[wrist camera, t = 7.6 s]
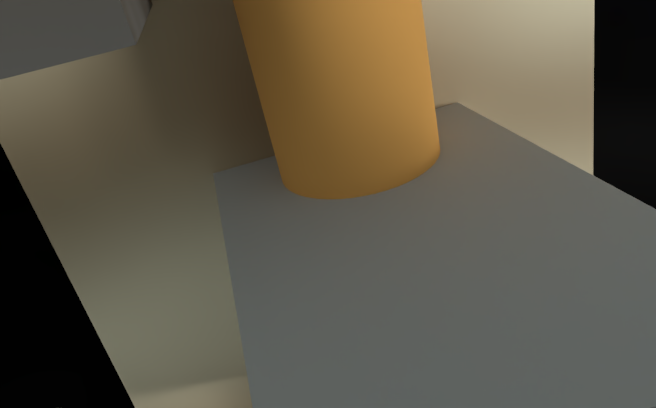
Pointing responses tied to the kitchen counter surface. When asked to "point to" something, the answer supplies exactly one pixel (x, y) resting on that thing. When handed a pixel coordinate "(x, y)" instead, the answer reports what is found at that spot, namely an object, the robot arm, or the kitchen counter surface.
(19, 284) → the kitchen counter surface
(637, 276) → the toy hammer
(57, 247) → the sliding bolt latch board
